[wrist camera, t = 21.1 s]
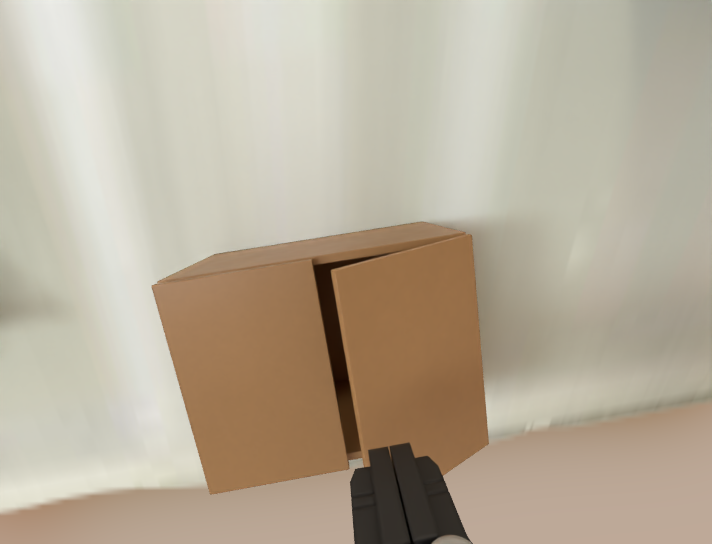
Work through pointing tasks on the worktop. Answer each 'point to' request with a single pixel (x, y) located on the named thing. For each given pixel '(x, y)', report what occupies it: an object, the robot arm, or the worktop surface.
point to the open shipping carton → (271, 354)
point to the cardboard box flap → (415, 351)
